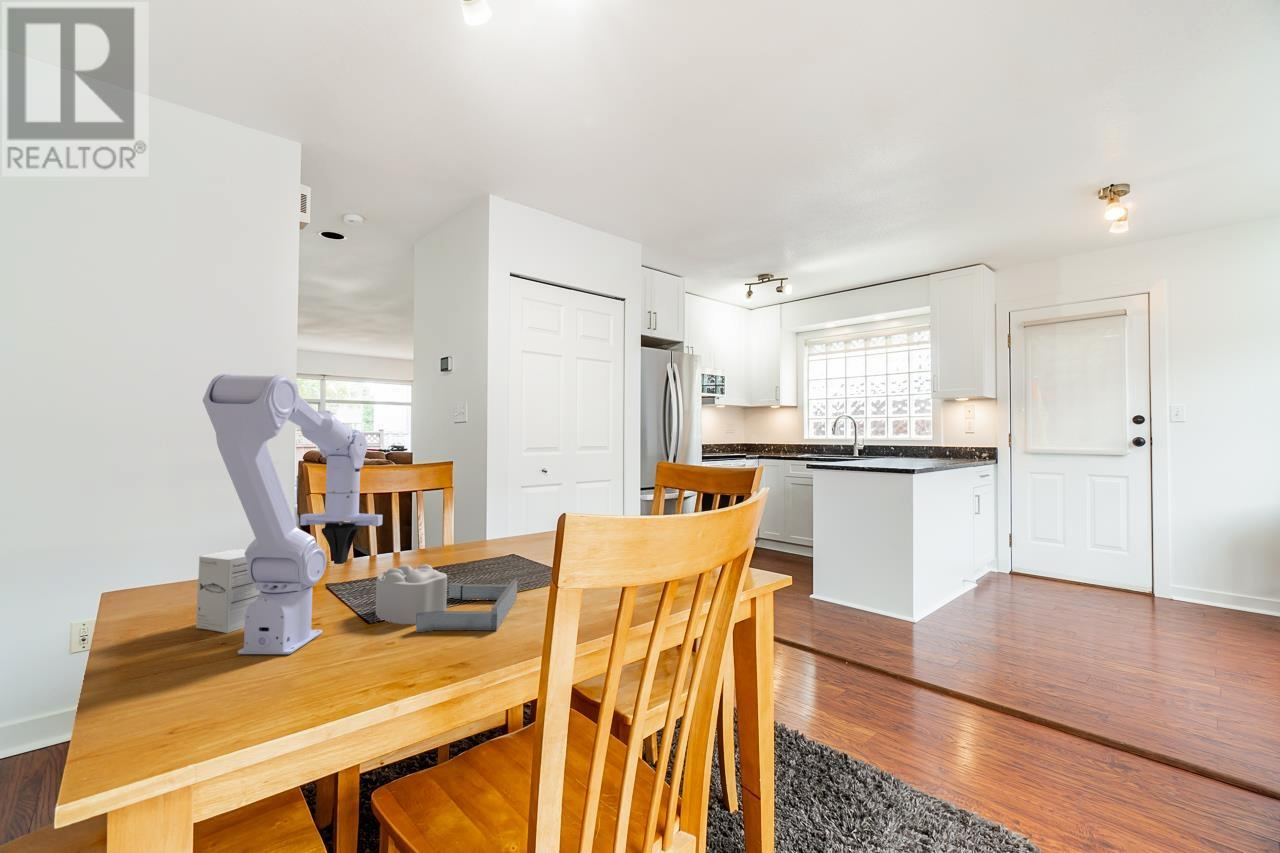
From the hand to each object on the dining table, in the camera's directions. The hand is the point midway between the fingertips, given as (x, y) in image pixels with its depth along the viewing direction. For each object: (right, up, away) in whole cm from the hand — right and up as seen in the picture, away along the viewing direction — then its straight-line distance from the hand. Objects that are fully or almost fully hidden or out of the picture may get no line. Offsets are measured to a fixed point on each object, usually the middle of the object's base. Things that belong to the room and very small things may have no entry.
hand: (340, 563), depth 103 cm
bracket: (+25, -10, +1) cm, 27 cm away
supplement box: (-15, -9, -8) cm, 19 cm away
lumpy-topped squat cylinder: (+13, -10, 0) cm, 16 cm away
